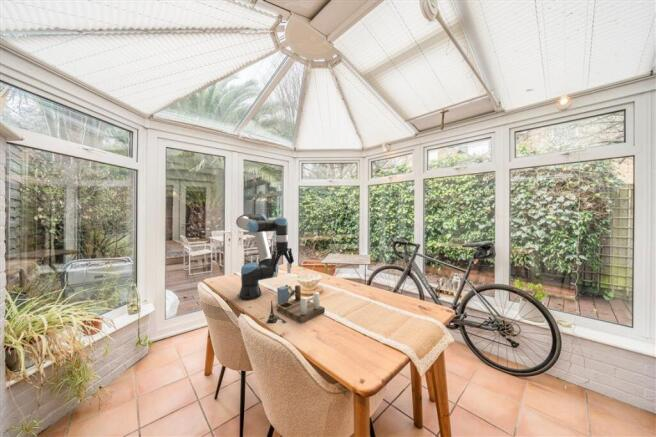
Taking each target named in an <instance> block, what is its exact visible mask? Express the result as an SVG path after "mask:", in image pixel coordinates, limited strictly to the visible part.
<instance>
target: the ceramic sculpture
mask: <svg viewBox="0 0 656 437" xmlns="http://www.w3.org/2000/svg"><path fill="white" fill-rule="evenodd" d="M284 286H285V287H288V299H289V298H290V297H291V295H293V294H294V295H295V289H293V288H292V286H290V285H288V284H286V285H284Z"/></svg>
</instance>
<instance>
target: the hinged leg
mask: <svg viewBox="0 0 656 437" xmlns="http://www.w3.org/2000/svg"><path fill="white" fill-rule="evenodd" d="M308 301H310V302H312V301H313V302H312V303H313V308H314V309H319V306H320V292H318V291H317V292H316V291H315V292H313V293H312V295H311V296H308V297H306V296H301V315H306V314H307V302H308Z"/></svg>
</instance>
